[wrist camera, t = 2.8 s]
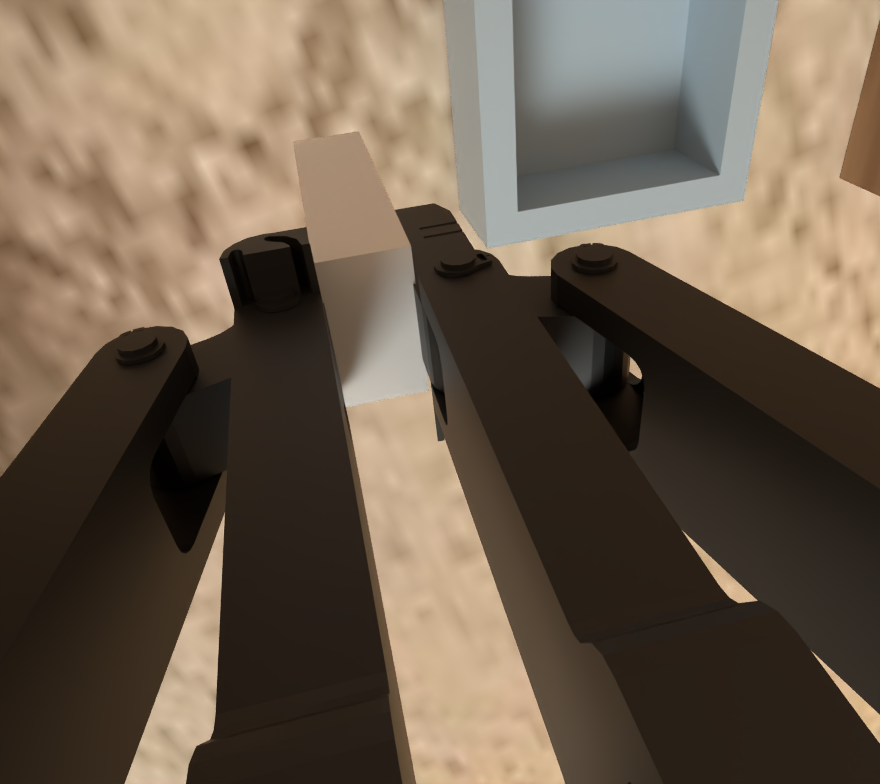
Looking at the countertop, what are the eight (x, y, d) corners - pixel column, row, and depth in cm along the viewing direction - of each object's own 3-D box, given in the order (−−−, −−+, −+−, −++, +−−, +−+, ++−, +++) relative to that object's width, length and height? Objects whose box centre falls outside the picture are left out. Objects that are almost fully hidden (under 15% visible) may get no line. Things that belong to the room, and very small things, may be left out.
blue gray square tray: (459, 209, 29) (487, 248, 25) (436, -94, 23) (468, -95, 19) (689, 168, 30) (743, 200, 27) (725, -128, 24) (801, -134, 21)
